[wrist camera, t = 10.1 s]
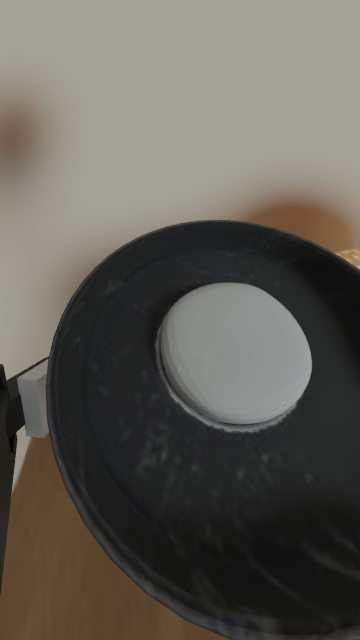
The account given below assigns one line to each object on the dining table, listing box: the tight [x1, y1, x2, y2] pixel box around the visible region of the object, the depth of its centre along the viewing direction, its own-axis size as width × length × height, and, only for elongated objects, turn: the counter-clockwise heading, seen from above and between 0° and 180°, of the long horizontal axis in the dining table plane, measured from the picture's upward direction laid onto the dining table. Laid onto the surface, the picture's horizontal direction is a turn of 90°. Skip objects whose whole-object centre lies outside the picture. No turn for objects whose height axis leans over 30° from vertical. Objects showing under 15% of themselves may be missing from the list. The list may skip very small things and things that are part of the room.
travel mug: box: [46, 220, 360, 640], centre depth 12 cm, size 8×8×20 cm
